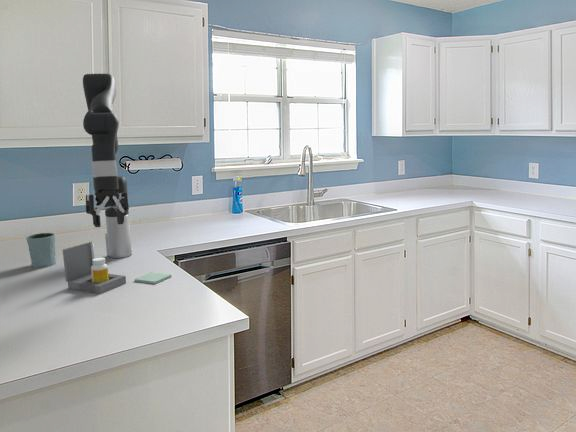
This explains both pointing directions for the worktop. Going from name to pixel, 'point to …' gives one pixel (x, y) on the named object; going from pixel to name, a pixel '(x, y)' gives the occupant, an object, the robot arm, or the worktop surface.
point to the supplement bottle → (99, 270)
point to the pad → (153, 278)
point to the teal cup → (42, 249)
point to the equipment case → (86, 270)
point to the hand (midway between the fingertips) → (109, 225)
